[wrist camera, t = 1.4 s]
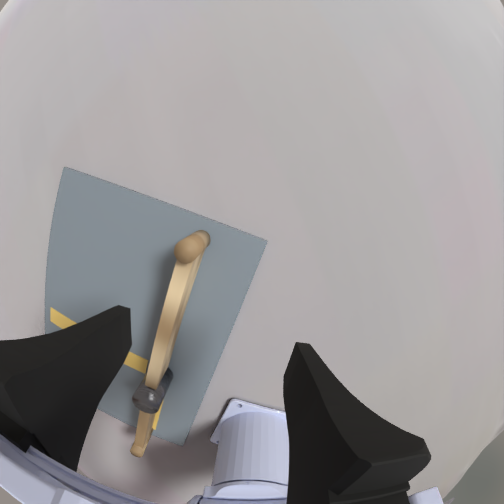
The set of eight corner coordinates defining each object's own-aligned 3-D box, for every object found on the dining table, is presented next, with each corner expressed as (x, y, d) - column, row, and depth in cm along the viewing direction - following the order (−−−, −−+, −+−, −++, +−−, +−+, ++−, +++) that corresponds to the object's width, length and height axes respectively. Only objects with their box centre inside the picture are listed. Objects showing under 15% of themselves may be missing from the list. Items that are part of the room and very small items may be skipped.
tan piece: (170, 367, 22) (155, 396, 18) (156, 360, 22) (139, 389, 18) (213, 233, 19) (200, 245, 15) (195, 227, 19) (177, 236, 15)
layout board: (267, 240, 20) (267, 242, 20) (183, 443, 26) (182, 447, 25) (67, 167, 19) (63, 167, 19) (51, 376, 25) (48, 378, 24)
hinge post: (175, 369, 23) (161, 401, 18) (170, 386, 23) (156, 417, 19) (151, 359, 22) (133, 388, 18) (147, 376, 23) (130, 406, 19)
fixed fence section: (164, 388, 23) (150, 417, 19) (152, 433, 25) (141, 458, 21) (151, 382, 23) (135, 410, 19) (141, 428, 25) (129, 453, 20)
